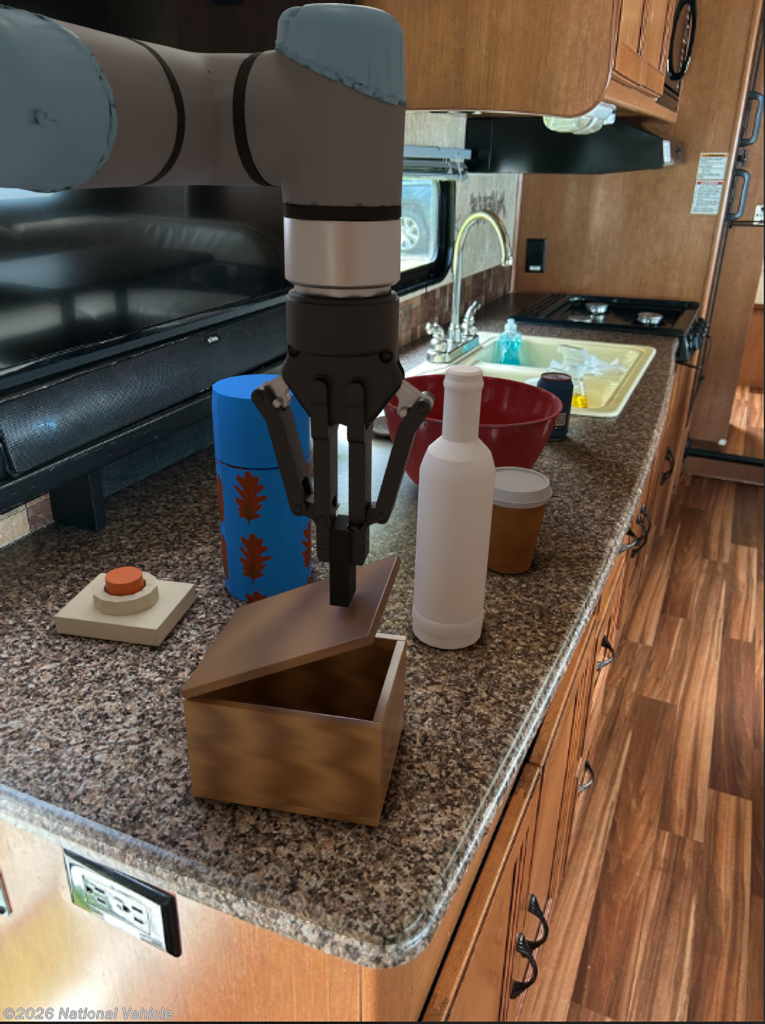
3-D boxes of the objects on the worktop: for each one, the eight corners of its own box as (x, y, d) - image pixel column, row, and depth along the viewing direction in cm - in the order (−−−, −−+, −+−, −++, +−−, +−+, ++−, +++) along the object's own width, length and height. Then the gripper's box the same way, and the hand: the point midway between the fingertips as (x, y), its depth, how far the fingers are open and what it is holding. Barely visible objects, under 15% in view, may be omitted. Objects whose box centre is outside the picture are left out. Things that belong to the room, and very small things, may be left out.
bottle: (397, 630, 87) (406, 367, 74) (440, 604, 92) (456, 355, 79) (453, 660, 82) (473, 383, 69) (496, 630, 87) (522, 369, 75)
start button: (100, 595, 85) (97, 581, 84) (117, 577, 89) (116, 564, 88) (133, 599, 85) (131, 585, 84) (150, 581, 88) (148, 568, 87)
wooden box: (403, 724, 72) (407, 636, 68) (377, 827, 61) (380, 729, 57) (245, 701, 75) (239, 615, 71) (192, 796, 63) (182, 700, 59)
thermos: (297, 609, 90) (292, 402, 80) (211, 599, 92) (195, 395, 82) (320, 566, 100) (319, 377, 90) (242, 557, 102) (231, 371, 91)
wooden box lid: (402, 561, 65) (398, 553, 65) (372, 644, 54) (368, 635, 54) (241, 614, 71) (237, 607, 70) (184, 699, 59) (179, 691, 59)
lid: (427, 439, 151) (430, 414, 150) (402, 440, 143) (406, 413, 142) (381, 431, 156) (384, 407, 155) (355, 432, 148) (358, 406, 147)
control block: (56, 633, 85) (50, 601, 83) (103, 588, 94) (98, 559, 92) (158, 646, 83) (154, 615, 81) (196, 599, 92) (193, 570, 90)
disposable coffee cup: (529, 587, 96) (539, 499, 91) (459, 568, 100) (465, 483, 95) (552, 557, 104) (563, 474, 99) (486, 540, 108) (493, 460, 103)
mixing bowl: (508, 451, 142) (516, 369, 135) (584, 515, 117) (598, 417, 110) (359, 462, 135) (360, 375, 128) (405, 532, 110) (409, 428, 103)
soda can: (525, 431, 152) (531, 372, 147) (556, 429, 154) (563, 370, 149) (541, 443, 146) (548, 381, 141) (574, 440, 148) (582, 379, 143)
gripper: (447, 284, 53) (431, 583, 63) (266, 275, 55) (278, 566, 65) (434, 301, 46) (418, 633, 56) (227, 290, 48) (247, 612, 58)
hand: (343, 597), depth 60 cm, fingers closed
